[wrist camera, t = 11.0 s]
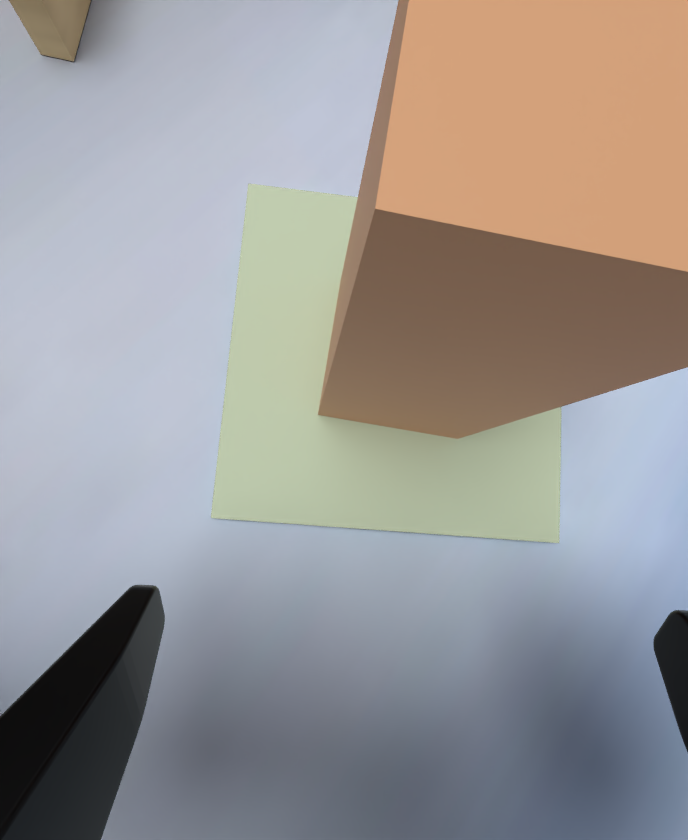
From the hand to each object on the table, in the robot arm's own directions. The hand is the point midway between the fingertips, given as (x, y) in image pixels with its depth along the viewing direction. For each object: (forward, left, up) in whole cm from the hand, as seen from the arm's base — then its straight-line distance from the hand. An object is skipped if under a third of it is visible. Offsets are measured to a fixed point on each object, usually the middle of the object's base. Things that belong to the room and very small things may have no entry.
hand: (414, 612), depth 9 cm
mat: (+1, +7, -9) cm, 11 cm away
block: (+1, +7, -8) cm, 11 cm away
